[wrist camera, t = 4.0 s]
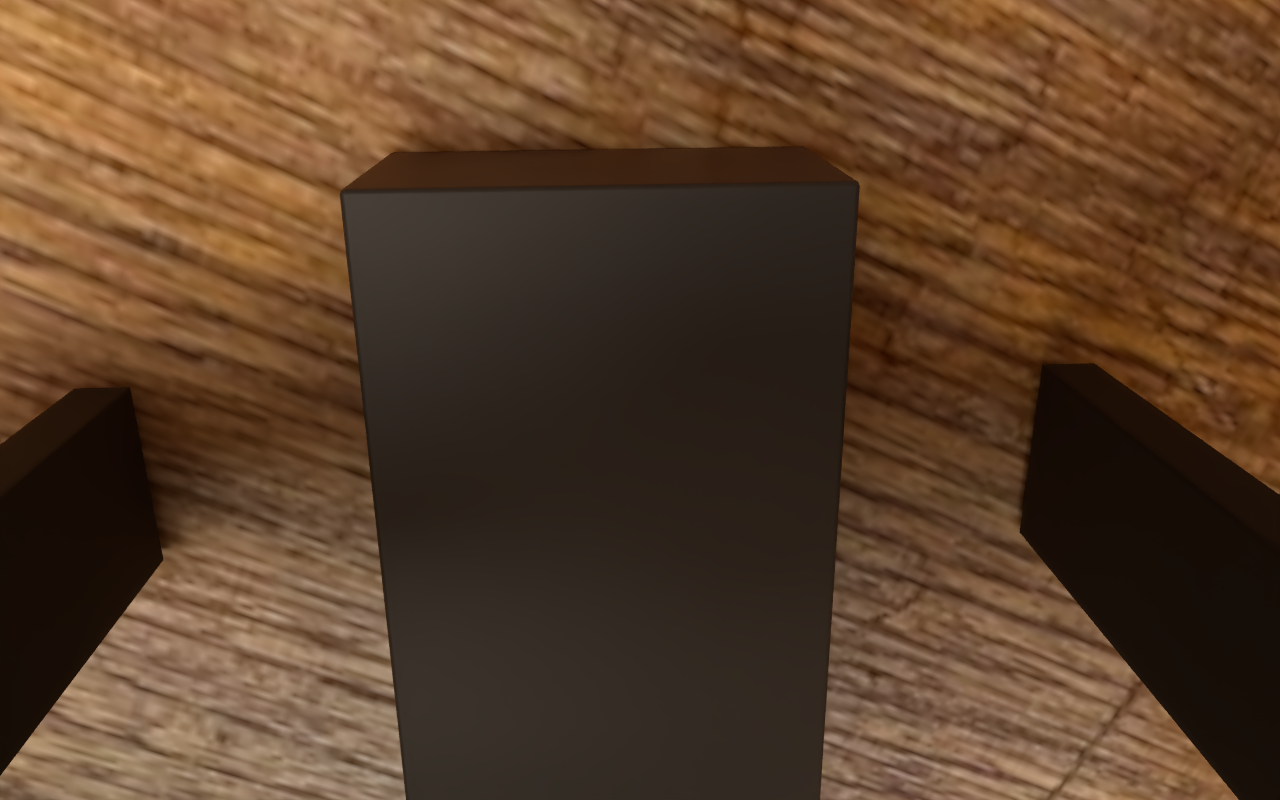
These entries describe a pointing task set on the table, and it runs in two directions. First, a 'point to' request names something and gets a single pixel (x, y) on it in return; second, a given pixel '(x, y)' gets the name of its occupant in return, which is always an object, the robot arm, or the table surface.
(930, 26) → the table surface
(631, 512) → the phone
